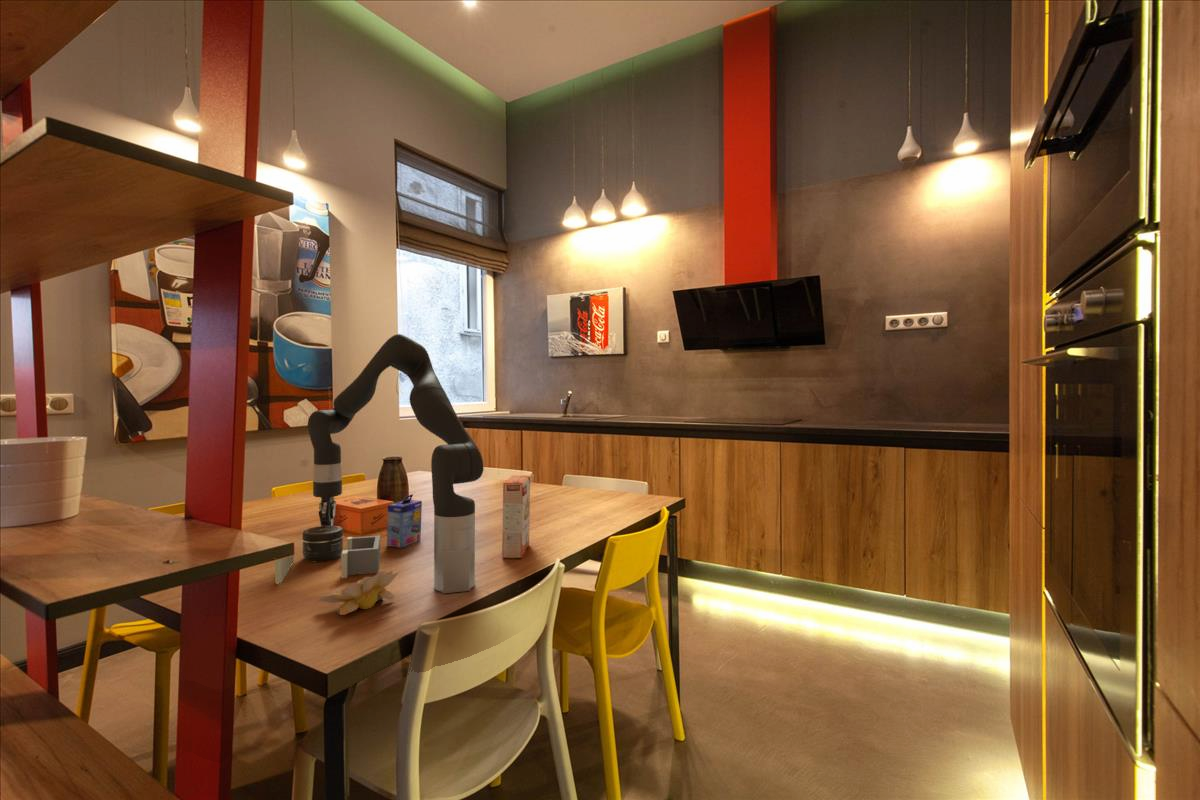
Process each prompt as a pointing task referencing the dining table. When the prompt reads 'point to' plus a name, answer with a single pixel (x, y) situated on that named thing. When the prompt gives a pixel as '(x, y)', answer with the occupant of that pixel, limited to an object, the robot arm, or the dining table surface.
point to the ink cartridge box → (404, 522)
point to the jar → (322, 543)
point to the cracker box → (516, 516)
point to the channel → (346, 558)
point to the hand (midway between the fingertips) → (327, 538)
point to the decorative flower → (362, 593)
